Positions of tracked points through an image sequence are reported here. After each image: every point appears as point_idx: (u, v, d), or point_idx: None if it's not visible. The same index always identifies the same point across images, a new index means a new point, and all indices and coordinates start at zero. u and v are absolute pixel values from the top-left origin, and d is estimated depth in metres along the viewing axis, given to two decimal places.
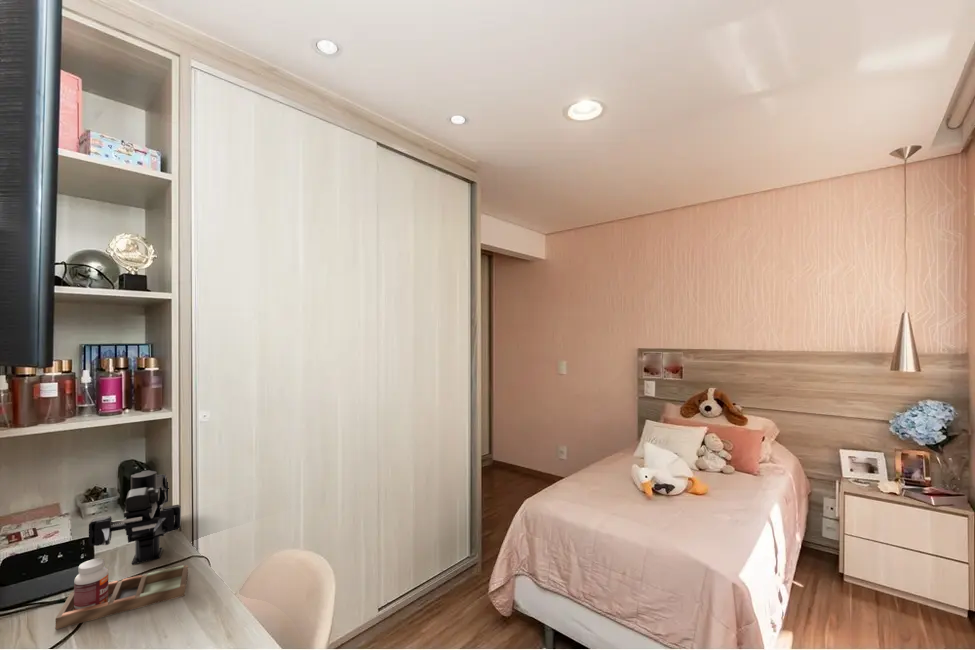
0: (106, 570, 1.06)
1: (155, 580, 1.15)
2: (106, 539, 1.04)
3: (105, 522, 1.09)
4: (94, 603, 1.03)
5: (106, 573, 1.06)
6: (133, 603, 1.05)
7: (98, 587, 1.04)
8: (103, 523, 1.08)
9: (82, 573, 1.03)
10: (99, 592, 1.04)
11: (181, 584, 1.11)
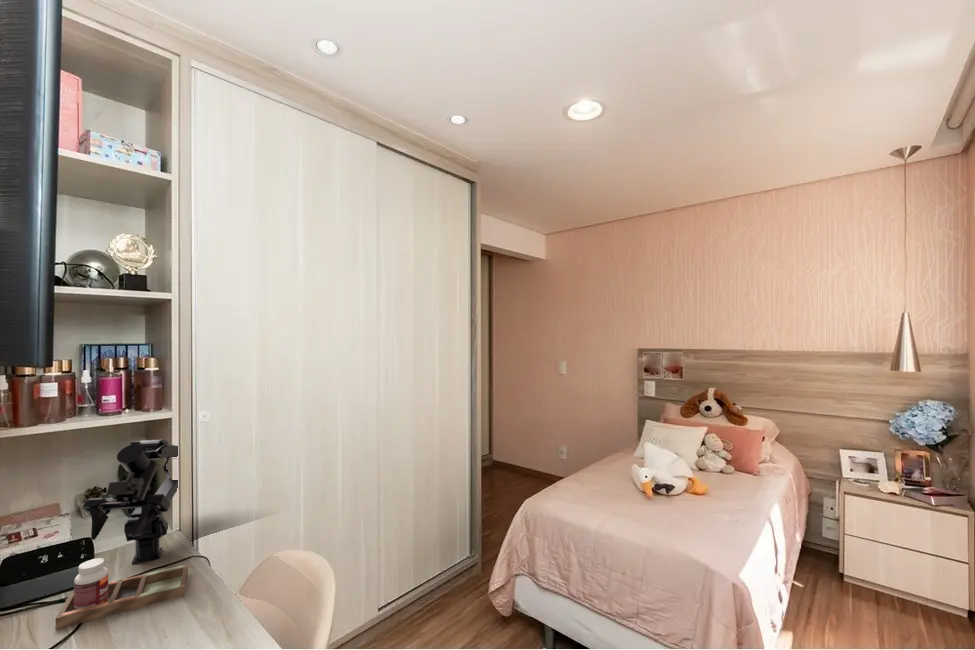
0: (106, 570, 1.06)
1: (155, 580, 1.15)
2: (92, 536, 1.12)
3: (94, 510, 1.14)
4: (94, 603, 1.03)
5: (106, 573, 1.06)
6: (133, 603, 1.05)
7: (98, 587, 1.04)
8: (92, 511, 1.14)
9: (82, 573, 1.03)
10: (99, 592, 1.04)
11: (181, 584, 1.11)
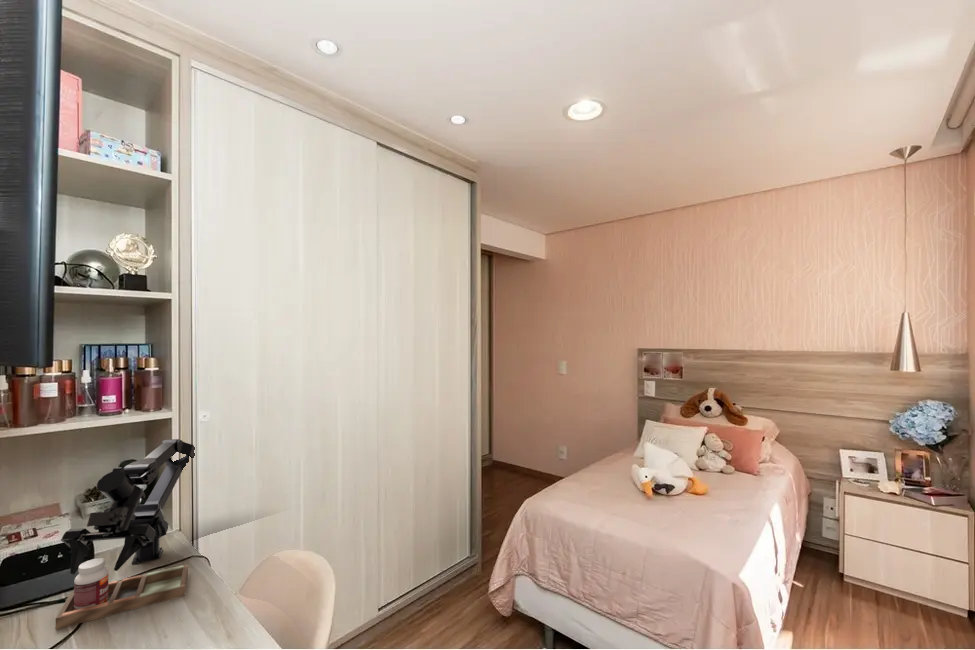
0: (106, 570, 1.06)
1: (155, 580, 1.15)
2: (71, 571, 1.05)
3: (74, 542, 1.07)
4: (94, 603, 1.03)
5: (106, 573, 1.06)
6: (133, 603, 1.05)
7: (98, 587, 1.04)
8: (72, 543, 1.07)
9: (82, 573, 1.03)
10: (99, 592, 1.04)
11: (181, 584, 1.11)
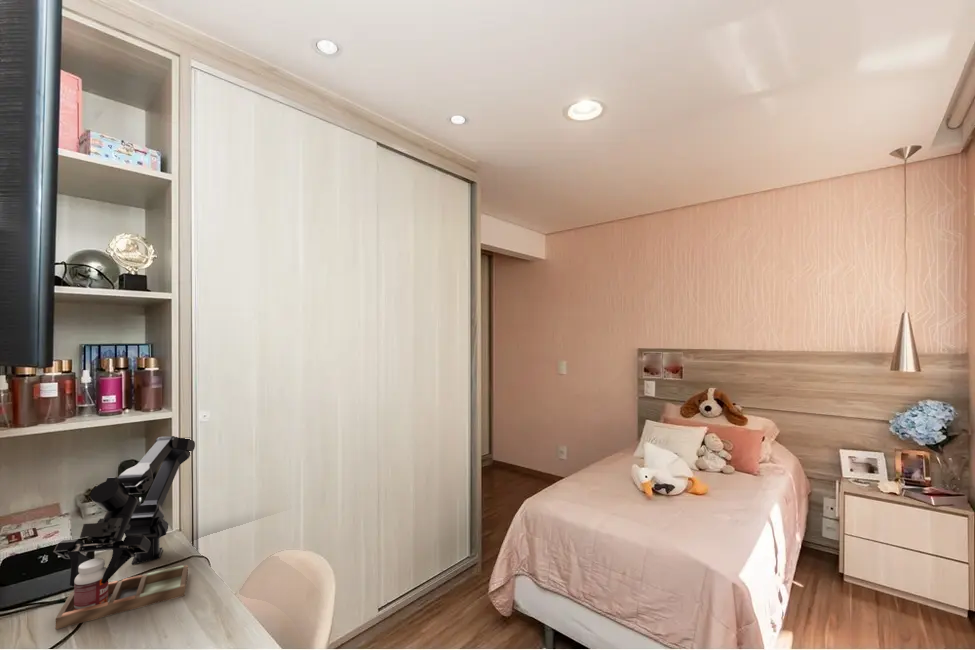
0: None
1: (155, 580, 1.15)
2: (71, 582, 1.03)
3: (73, 553, 1.05)
4: (94, 603, 1.03)
5: None
6: (133, 603, 1.05)
7: (98, 587, 1.04)
8: (71, 554, 1.05)
9: (82, 573, 1.03)
10: (99, 592, 1.04)
11: (181, 584, 1.11)
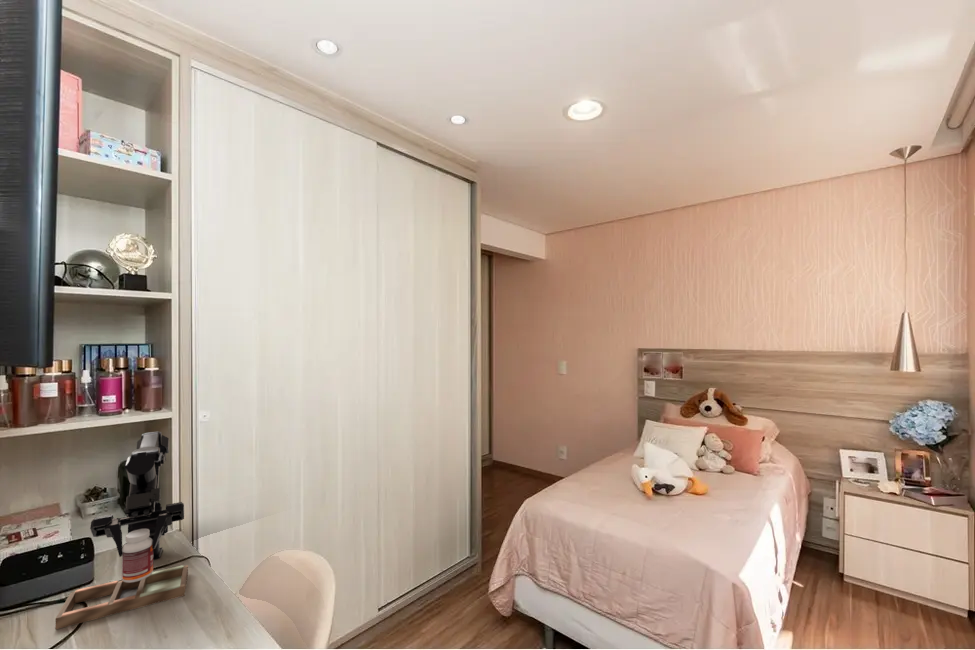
0: (151, 538, 1.11)
1: (155, 580, 1.15)
2: (119, 552, 1.06)
3: (114, 527, 1.07)
4: (147, 568, 1.08)
5: (152, 540, 1.11)
6: (133, 603, 1.05)
7: (149, 553, 1.09)
8: (113, 528, 1.07)
9: (133, 542, 1.07)
10: (150, 558, 1.09)
11: (181, 584, 1.11)
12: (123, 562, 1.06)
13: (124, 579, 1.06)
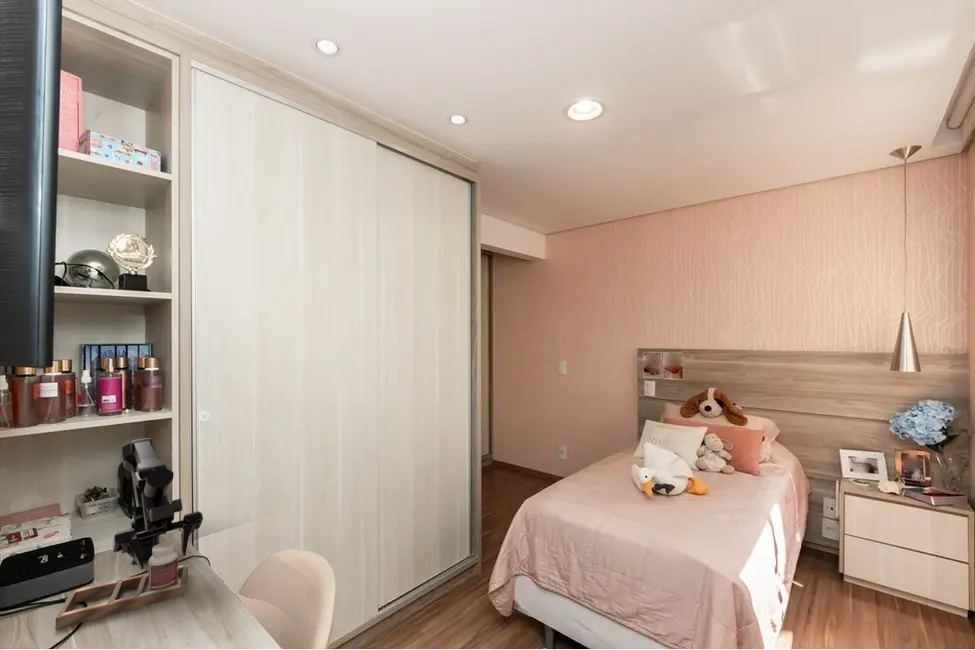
0: None
1: None
2: (142, 565, 1.08)
3: (134, 541, 1.09)
4: (174, 579, 1.12)
5: None
6: (133, 603, 1.05)
7: (176, 564, 1.13)
8: (132, 542, 1.09)
9: (162, 554, 1.11)
10: (176, 569, 1.13)
11: (181, 584, 1.11)
12: (151, 575, 1.09)
13: None
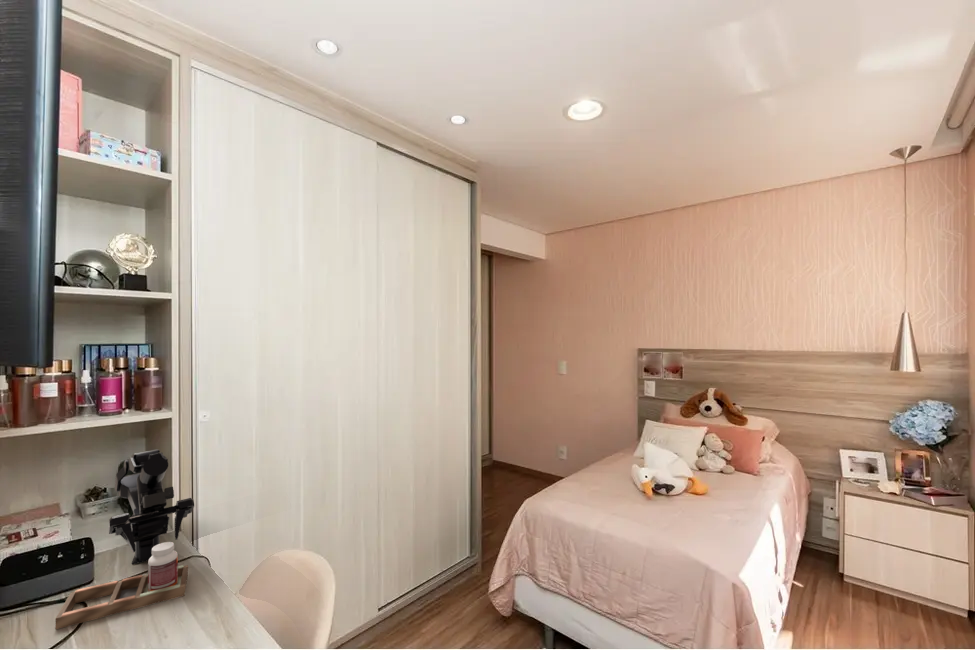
0: None
1: None
2: (134, 548, 1.15)
3: (126, 525, 1.15)
4: (174, 579, 1.12)
5: (176, 552, 1.15)
6: (133, 603, 1.05)
7: (176, 564, 1.13)
8: (124, 526, 1.15)
9: (161, 554, 1.11)
10: (176, 569, 1.13)
11: (181, 584, 1.11)
12: (151, 575, 1.09)
13: None
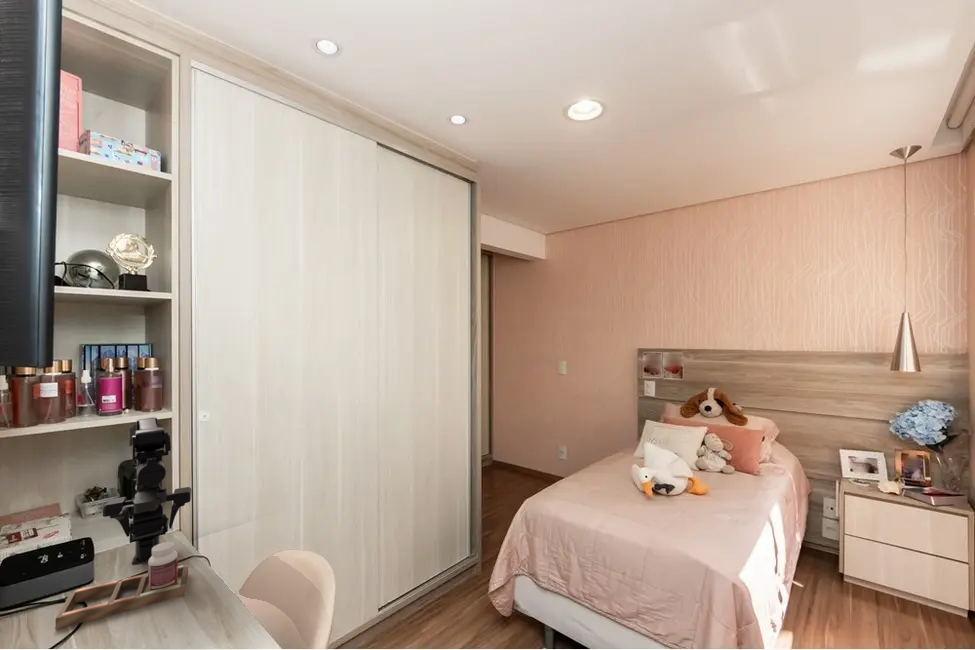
0: None
1: None
2: (127, 535, 1.16)
3: (119, 517, 1.13)
4: (174, 579, 1.12)
5: (176, 552, 1.15)
6: (133, 603, 1.05)
7: (176, 564, 1.13)
8: (117, 517, 1.13)
9: (161, 554, 1.11)
10: (176, 569, 1.13)
11: (181, 584, 1.11)
12: (151, 575, 1.09)
13: None
